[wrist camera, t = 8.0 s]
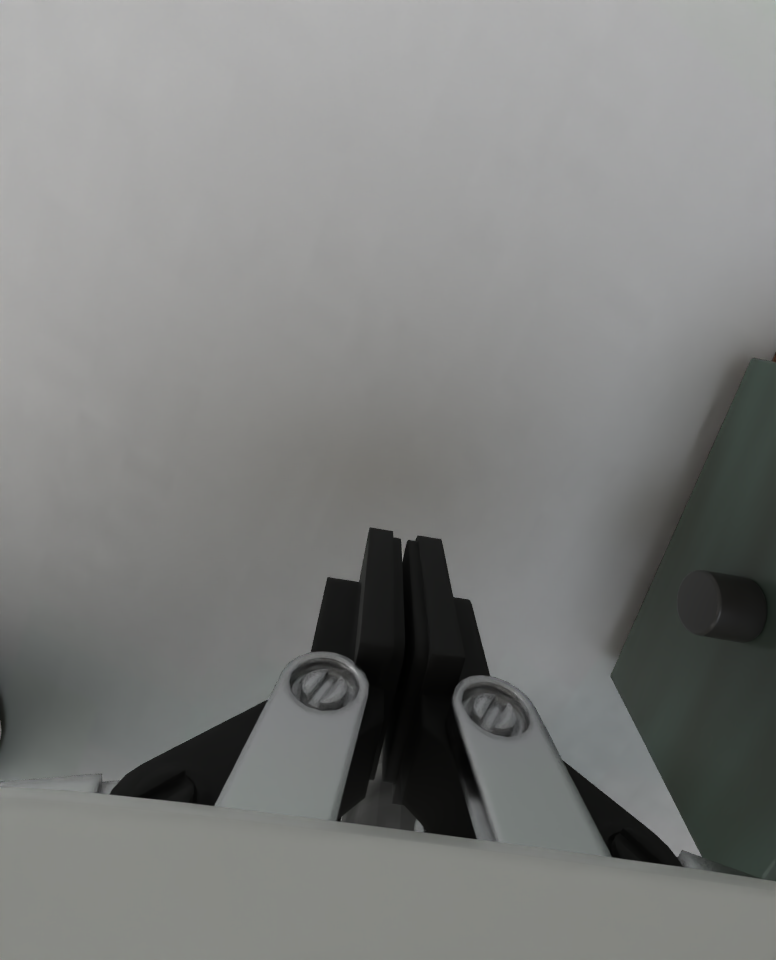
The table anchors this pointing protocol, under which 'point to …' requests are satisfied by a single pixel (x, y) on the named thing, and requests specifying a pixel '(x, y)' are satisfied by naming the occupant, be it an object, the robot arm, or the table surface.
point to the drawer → (717, 643)
